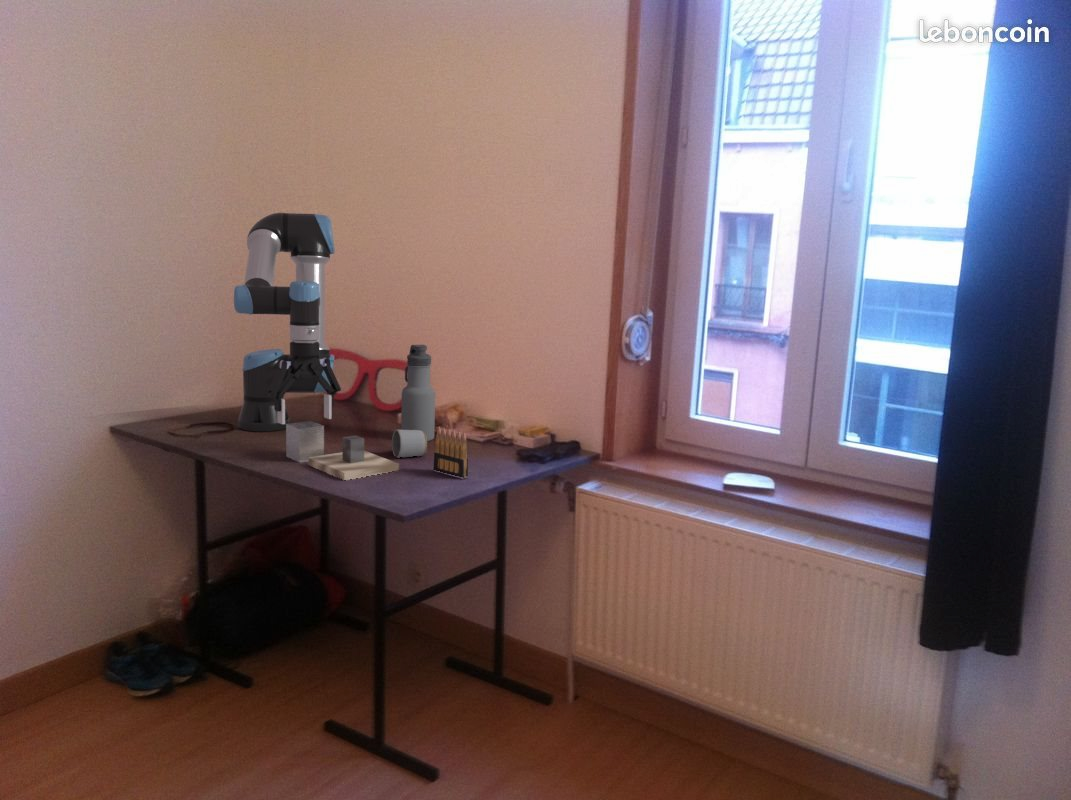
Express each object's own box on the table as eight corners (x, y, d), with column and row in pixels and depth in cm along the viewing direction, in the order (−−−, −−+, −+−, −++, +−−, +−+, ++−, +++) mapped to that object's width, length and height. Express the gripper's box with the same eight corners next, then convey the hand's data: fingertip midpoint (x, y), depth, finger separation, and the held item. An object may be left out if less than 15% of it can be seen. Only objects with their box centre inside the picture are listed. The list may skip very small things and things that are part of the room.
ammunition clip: (433, 471, 237) (433, 426, 235) (438, 470, 238) (439, 425, 236) (463, 479, 230) (464, 433, 228) (468, 478, 232) (469, 432, 229)
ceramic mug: (428, 458, 250) (428, 430, 248) (399, 460, 246) (400, 432, 245) (415, 450, 259) (415, 423, 258) (387, 452, 255) (387, 425, 254)
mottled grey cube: (286, 456, 245) (286, 423, 243) (310, 453, 250) (310, 420, 248) (299, 462, 240) (299, 429, 238) (324, 458, 244) (323, 425, 243)
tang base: (308, 464, 238) (307, 435, 236) (361, 456, 248) (361, 427, 247) (344, 480, 225) (344, 449, 223) (398, 471, 235) (399, 441, 234)
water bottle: (397, 435, 275) (398, 343, 269) (429, 434, 278) (431, 342, 273) (405, 443, 265) (406, 347, 260) (437, 442, 269) (439, 347, 263)
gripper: (266, 344, 228) (267, 428, 231) (353, 340, 244) (353, 418, 248) (253, 341, 233) (254, 423, 237) (339, 337, 250) (338, 413, 253)
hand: (304, 420), depth 242 cm, fingers open, 13 cm apart
